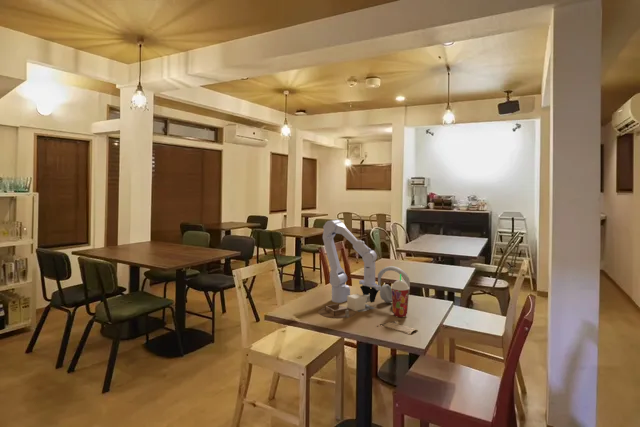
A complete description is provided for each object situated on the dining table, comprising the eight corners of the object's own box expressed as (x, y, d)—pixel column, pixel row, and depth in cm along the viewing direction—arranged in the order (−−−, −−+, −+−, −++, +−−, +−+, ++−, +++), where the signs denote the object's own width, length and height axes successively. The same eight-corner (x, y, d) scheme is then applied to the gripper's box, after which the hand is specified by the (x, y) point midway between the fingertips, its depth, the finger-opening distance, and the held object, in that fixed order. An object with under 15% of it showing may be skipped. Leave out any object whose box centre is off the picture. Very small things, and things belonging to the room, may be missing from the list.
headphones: (374, 302, 205) (374, 265, 204) (381, 299, 211) (382, 263, 210) (405, 309, 193) (405, 270, 192) (412, 305, 199) (413, 267, 198)
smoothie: (409, 313, 187) (410, 273, 186) (407, 319, 180) (408, 277, 178) (392, 311, 190) (393, 271, 189) (389, 317, 182) (390, 275, 181)
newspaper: (365, 322, 178) (365, 318, 178) (375, 318, 183) (375, 314, 183) (410, 336, 161) (410, 332, 161) (419, 331, 166) (419, 327, 166)
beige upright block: (354, 310, 188) (355, 298, 187) (347, 307, 193) (347, 295, 193) (373, 307, 194) (373, 295, 194) (365, 303, 199) (365, 292, 199)
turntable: (311, 311, 189) (311, 303, 189) (341, 305, 199) (341, 297, 198) (331, 322, 174) (331, 314, 173) (363, 315, 183) (363, 307, 183)
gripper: (354, 272, 199) (354, 298, 200) (372, 278, 187) (372, 306, 188) (365, 271, 203) (365, 296, 204) (383, 276, 191) (383, 303, 192)
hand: (369, 300), depth 196 cm, fingers open, 4 cm apart
